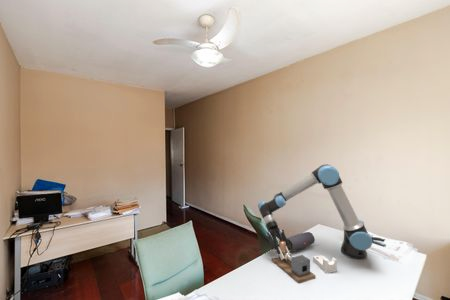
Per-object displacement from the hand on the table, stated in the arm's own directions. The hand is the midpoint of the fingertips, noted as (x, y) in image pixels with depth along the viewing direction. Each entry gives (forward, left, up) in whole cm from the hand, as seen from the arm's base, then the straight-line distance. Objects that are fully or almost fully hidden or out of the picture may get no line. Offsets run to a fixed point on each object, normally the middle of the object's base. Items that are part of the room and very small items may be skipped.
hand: (286, 258), depth 129 cm
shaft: (-2, +1, -2) cm, 3 cm away
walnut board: (-4, +2, -4) cm, 6 cm away
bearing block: (-11, +6, -2) cm, 12 cm away
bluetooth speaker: (+1, -25, -4) cm, 26 cm away
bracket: (-19, -13, -4) cm, 23 cm away
